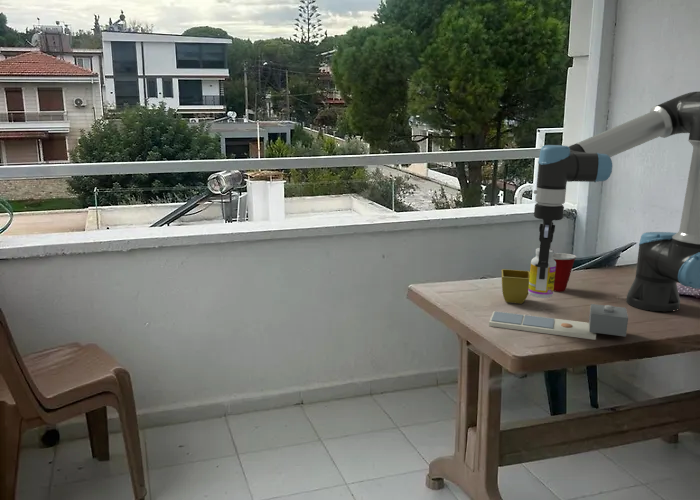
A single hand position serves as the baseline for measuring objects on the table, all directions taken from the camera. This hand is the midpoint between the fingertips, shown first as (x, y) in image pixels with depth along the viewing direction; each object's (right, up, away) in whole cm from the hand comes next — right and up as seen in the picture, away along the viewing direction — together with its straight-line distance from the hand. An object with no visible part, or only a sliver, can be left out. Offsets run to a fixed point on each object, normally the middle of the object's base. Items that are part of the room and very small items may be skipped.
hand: (541, 286), depth 177 cm
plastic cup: (+16, -3, +39) cm, 42 cm away
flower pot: (-1, -6, +25) cm, 26 cm away
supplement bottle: (0, -3, +1) cm, 3 cm away
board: (+1, -11, +2) cm, 12 cm away
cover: (+17, -11, -3) cm, 20 cm away
